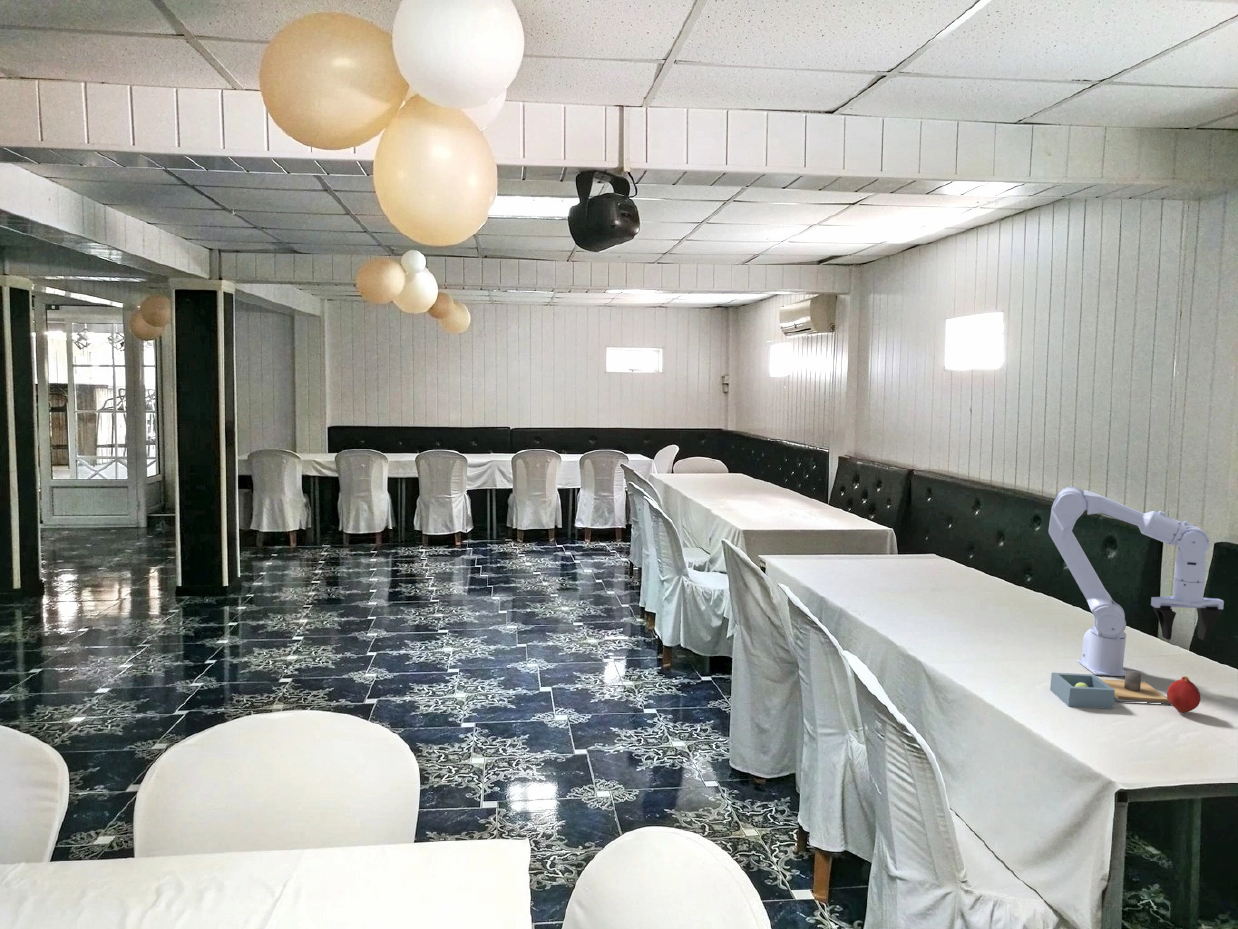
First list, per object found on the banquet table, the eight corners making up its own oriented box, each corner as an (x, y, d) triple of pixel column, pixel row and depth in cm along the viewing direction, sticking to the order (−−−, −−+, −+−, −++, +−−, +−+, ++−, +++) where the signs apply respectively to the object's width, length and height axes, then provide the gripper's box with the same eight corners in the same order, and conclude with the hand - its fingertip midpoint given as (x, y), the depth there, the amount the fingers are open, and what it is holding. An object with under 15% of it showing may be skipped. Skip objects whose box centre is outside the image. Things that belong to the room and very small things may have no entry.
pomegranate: (1167, 705, 180) (1171, 668, 179) (1199, 712, 177) (1203, 675, 176) (1163, 713, 176) (1167, 676, 175) (1196, 721, 172) (1201, 683, 171)
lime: (1071, 692, 184) (1072, 680, 184) (1084, 693, 184) (1085, 680, 183) (1077, 697, 181) (1078, 685, 181) (1090, 698, 181) (1092, 685, 181)
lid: (1097, 681, 192) (1099, 663, 191) (1144, 684, 191) (1146, 666, 190) (1118, 698, 182) (1120, 680, 182) (1167, 702, 181) (1170, 683, 180)
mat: (1090, 681, 193) (1090, 679, 193) (1145, 684, 192) (1145, 682, 192) (1116, 702, 181) (1117, 700, 181) (1175, 705, 180) (1175, 703, 180)
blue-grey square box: (1050, 690, 187) (1051, 672, 187) (1092, 692, 187) (1094, 674, 186) (1068, 706, 178) (1070, 688, 178) (1113, 708, 178) (1114, 690, 177)
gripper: (1165, 583, 187) (1160, 643, 189) (1234, 585, 186) (1229, 645, 188) (1147, 575, 194) (1143, 633, 196) (1214, 577, 193) (1209, 635, 195)
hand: (1184, 638), depth 192 cm, fingers open, 7 cm apart
